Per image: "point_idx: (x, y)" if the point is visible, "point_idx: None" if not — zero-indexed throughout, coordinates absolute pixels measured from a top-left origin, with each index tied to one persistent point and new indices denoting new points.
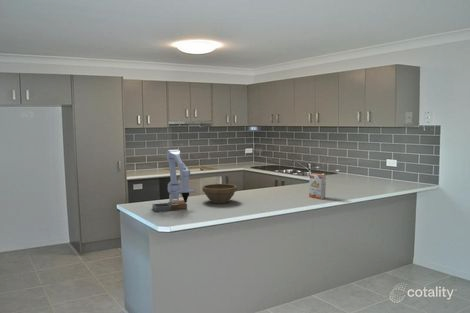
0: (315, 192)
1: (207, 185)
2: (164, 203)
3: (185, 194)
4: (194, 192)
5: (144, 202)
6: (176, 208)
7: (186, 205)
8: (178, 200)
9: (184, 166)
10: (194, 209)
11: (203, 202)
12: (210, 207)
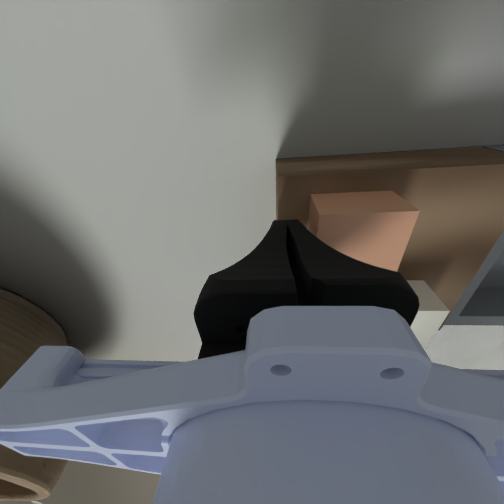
0: None
1: (27, 494)
2: (484, 315)
3: (333, 279)
4: (41, 349)
5: None
6: (422, 154)
7: (284, 169)
8: (397, 266)
9: None
10: (189, 117)
11: (118, 333)
12: (12, 165)
